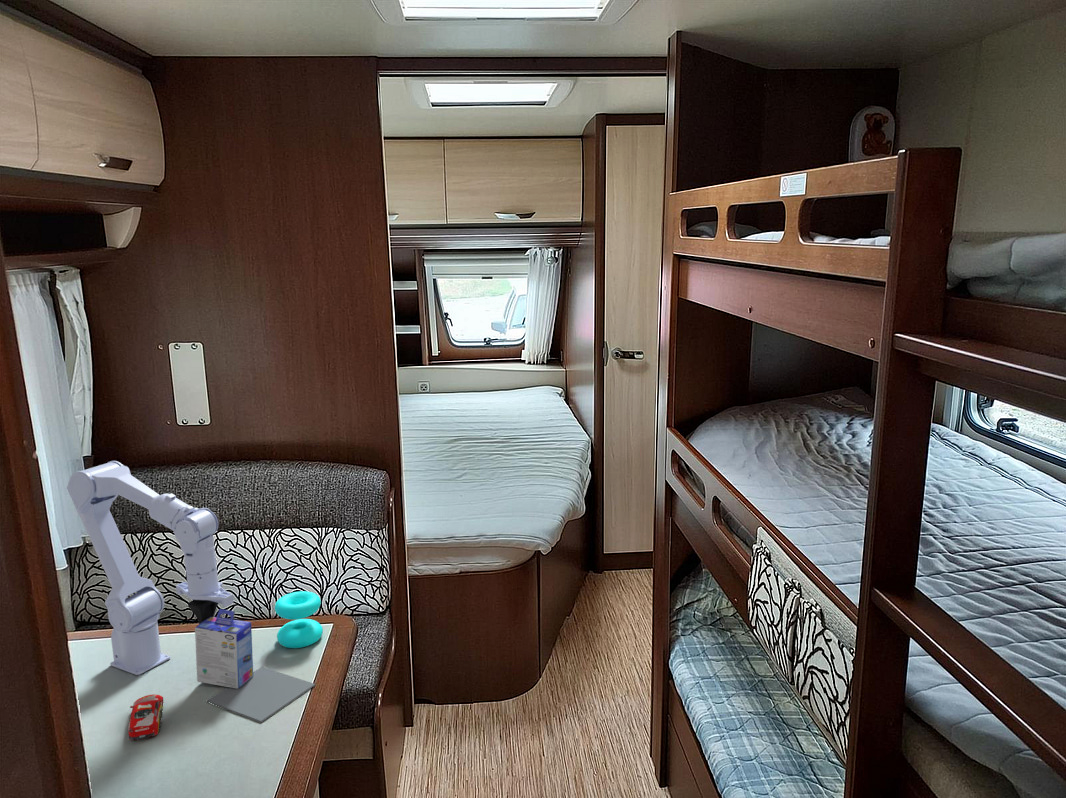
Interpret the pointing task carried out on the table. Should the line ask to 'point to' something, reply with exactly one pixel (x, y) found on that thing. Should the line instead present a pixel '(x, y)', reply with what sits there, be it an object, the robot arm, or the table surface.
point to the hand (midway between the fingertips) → (208, 631)
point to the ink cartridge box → (224, 651)
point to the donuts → (301, 629)
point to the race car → (145, 717)
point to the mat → (262, 694)
